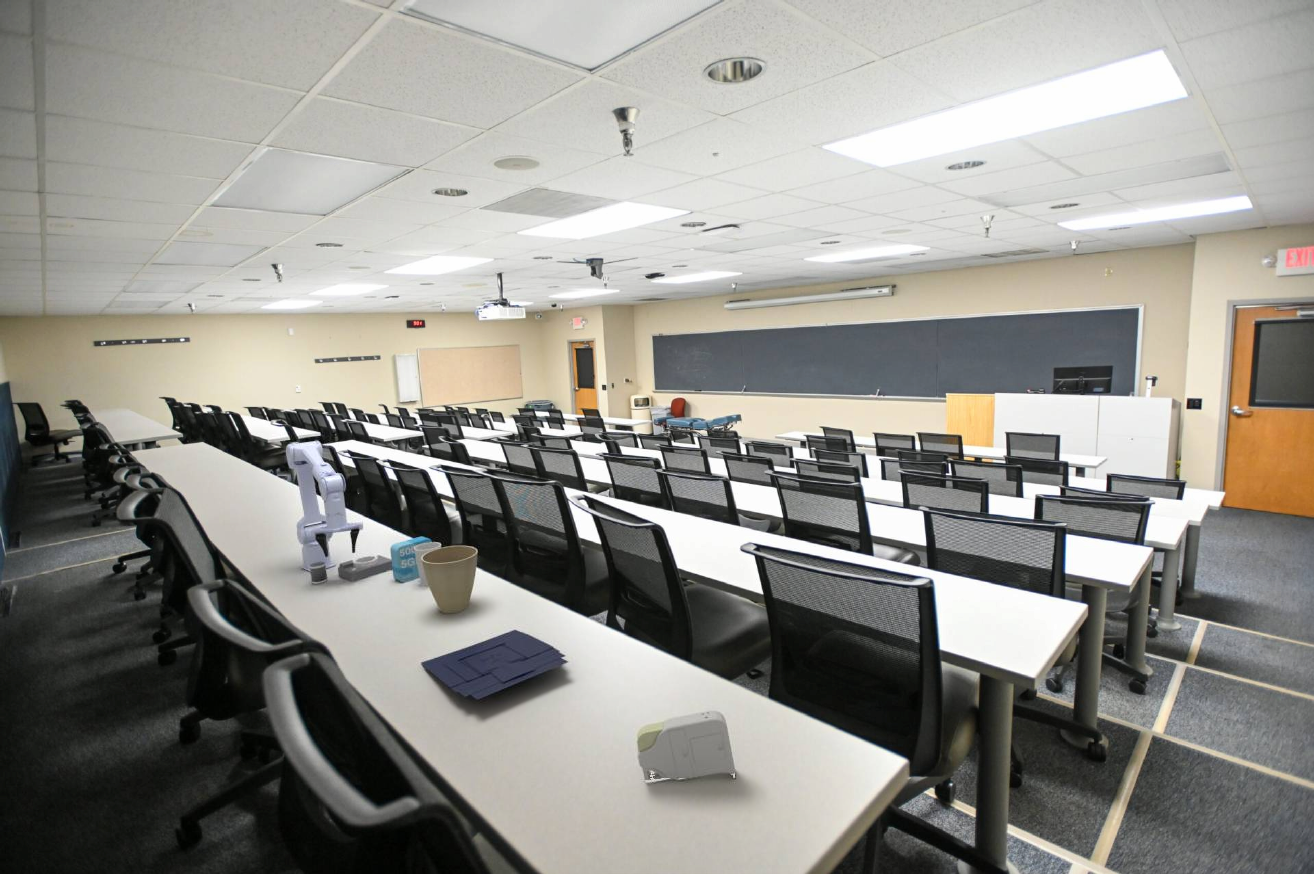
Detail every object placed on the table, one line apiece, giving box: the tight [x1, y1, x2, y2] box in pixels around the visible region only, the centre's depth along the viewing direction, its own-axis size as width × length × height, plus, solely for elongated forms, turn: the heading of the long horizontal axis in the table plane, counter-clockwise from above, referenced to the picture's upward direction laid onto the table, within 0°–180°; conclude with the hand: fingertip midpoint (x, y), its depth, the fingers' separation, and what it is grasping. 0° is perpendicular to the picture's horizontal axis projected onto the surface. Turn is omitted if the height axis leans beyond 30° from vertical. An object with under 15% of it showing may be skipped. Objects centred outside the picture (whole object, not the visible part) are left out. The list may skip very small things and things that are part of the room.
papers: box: [420, 629, 569, 701], centre depth 134 cm, size 24×30×4 cm
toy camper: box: [636, 710, 736, 781], centre depth 97 cm, size 11×3×15 cm
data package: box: [389, 536, 433, 583], centre depth 195 cm, size 12×4×12 cm, turn 140°
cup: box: [414, 541, 442, 588], centre depth 189 cm, size 8×8×12 cm
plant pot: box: [421, 545, 478, 614], centre depth 168 cm, size 15×15×16 cm
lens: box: [309, 562, 328, 586], centre depth 194 cm, size 4×4×6 cm
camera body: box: [337, 555, 393, 583], centre depth 201 cm, size 10×14×4 cm
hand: (340, 554), depth 191 cm, fingers open, 7 cm apart
